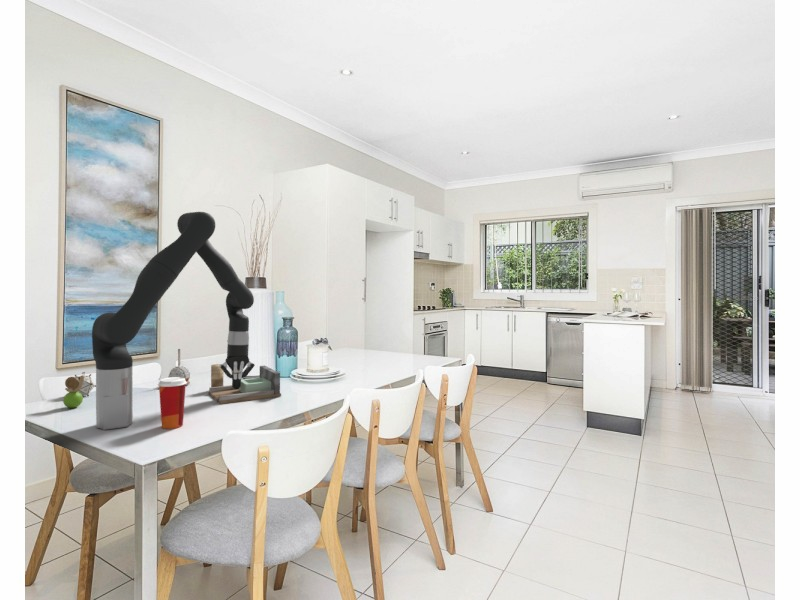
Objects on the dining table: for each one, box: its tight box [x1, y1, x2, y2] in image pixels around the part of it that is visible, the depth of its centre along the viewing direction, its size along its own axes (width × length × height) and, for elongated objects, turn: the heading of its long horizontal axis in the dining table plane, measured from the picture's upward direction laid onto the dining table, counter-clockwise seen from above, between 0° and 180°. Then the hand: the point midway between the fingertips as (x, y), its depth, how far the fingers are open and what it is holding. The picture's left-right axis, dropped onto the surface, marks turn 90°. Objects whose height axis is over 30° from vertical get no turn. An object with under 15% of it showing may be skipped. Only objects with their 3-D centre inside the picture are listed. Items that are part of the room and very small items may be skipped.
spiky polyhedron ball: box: [74, 373, 96, 397], centre depth 169 cm, size 9×8×10 cm
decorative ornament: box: [167, 348, 191, 386], centre depth 190 cm, size 8×8×15 cm
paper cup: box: [157, 377, 187, 430], centre depth 137 cm, size 8×8×14 cm
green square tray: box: [239, 377, 271, 393], centre depth 178 cm, size 10×10×4 cm
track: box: [208, 365, 282, 405], centre depth 175 cm, size 18×22×9 cm
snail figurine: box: [62, 371, 86, 409], centre depth 154 cm, size 5×6×12 cm
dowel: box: [210, 363, 224, 387], centre depth 182 cm, size 4×4×10 cm
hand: (236, 388), depth 174 cm, fingers closed
